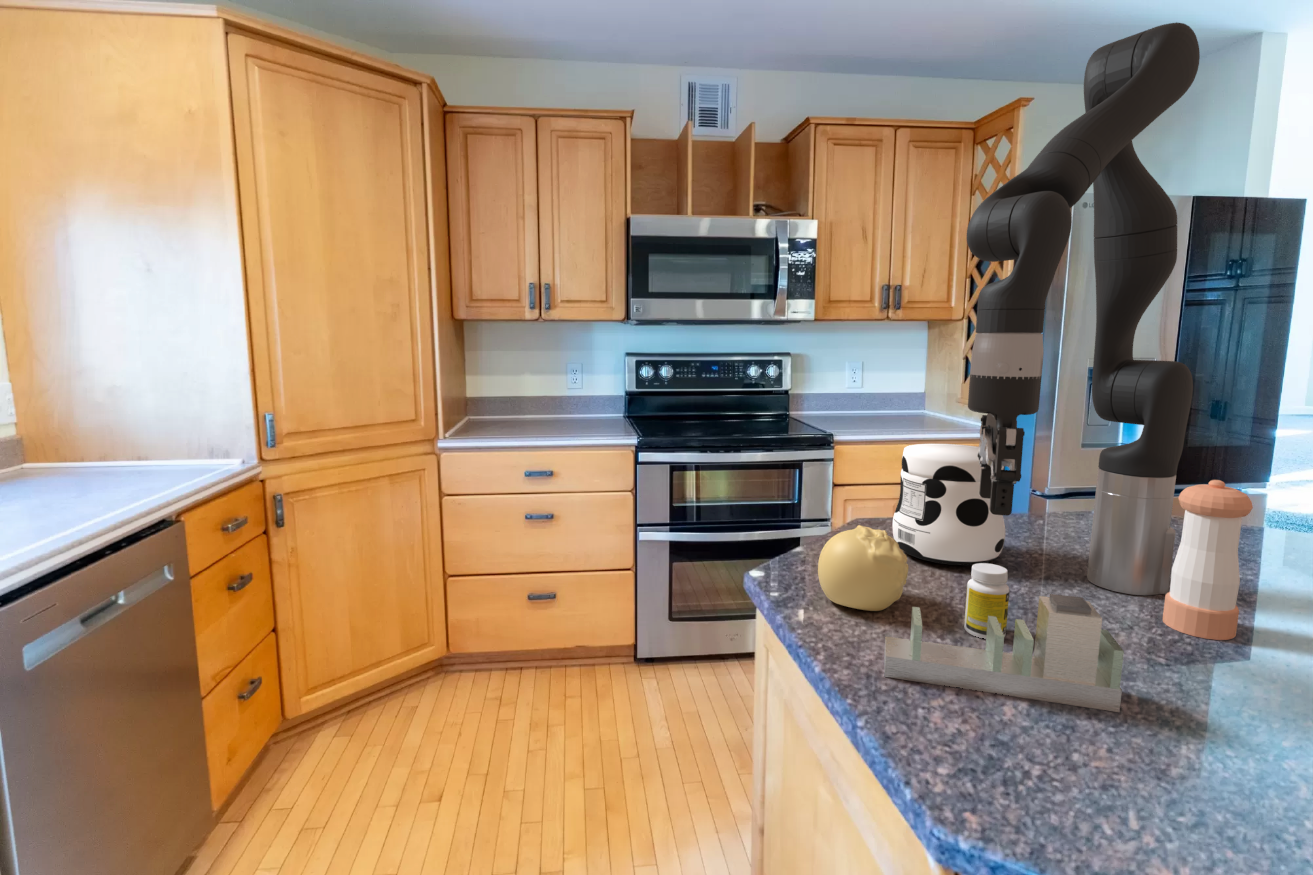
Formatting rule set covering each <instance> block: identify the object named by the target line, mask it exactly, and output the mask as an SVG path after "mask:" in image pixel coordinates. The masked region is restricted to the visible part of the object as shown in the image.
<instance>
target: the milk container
mask: <svg viewBox="0 0 1313 875" xmlns="http://www.w3.org/2000/svg"><path fill="white" fill-rule="evenodd" d="M978 453H979V446H977V445H976V446H975V445H968V444H967V445H966V444H956V443H955V444H954V443H915V444H910V445H907V446H904V447H903V452H902V457H901V470H900V484H899V485H900V490H899V498H898V502H897V505H896V508H895V510H894V514H893V517H892V535H893V539H895V540H896V542H897V543H898V545H899V548H900V549H902V550H903V552H904V553H906V555H909V556H912V557H915V558H917V559H919V560H923V561H928V562H931V563H935V564H945V565H949V566H973V565H974V564H978V563H989V562H992V561H995V560H996V559H997V558H998V557H999V556H1000V554H1001V553H1002V552H1003V548H1004V544H1005V540H1006V527H1005V525H1006V524H1005V520H1004V515H994V514H992V513H991V512H990V498H982V497H981V496H980V494H979V491H980V478H981V468H983V469H984V467H980V464H979V459H978ZM1005 467H1006V466H1002V468H1001V470H1006V469H1005Z"/></svg>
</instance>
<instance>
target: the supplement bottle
mask: <svg viewBox="0 0 1313 875" xmlns="http://www.w3.org/2000/svg"><path fill="white" fill-rule="evenodd" d="M1008 573H1009V572H1008V569H1007V568H1006V567H1004V566H1002V565H998V564H993V563H989V562H987V563H978V564H974V565H971V572H970V574H971V575H970V577H971V578H970V579H969V580H968V581H967V583H966V597H965V598H966V599H965V611H964V612H965V613H964V624H963V626H964V627H963V628H964V630H965V631H966V632H967V633H968V634H970V635H971V636H973V637H975V636H976V638H978V637H979V639H982V638H984V639H983V640H986V635H987V623H988V616H995V617H996V618H997V620H998V622H999V625H1000V627H1001V630H1002V632H1003V635H1004V638H1005V637H1006V635H1007V634H1006V633H1007V627H1008V624H1007V623H1008V613H1009V601H1010V587H1009V586H1008V584H1007V582H1008V579H1009V577H1008Z"/></svg>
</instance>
